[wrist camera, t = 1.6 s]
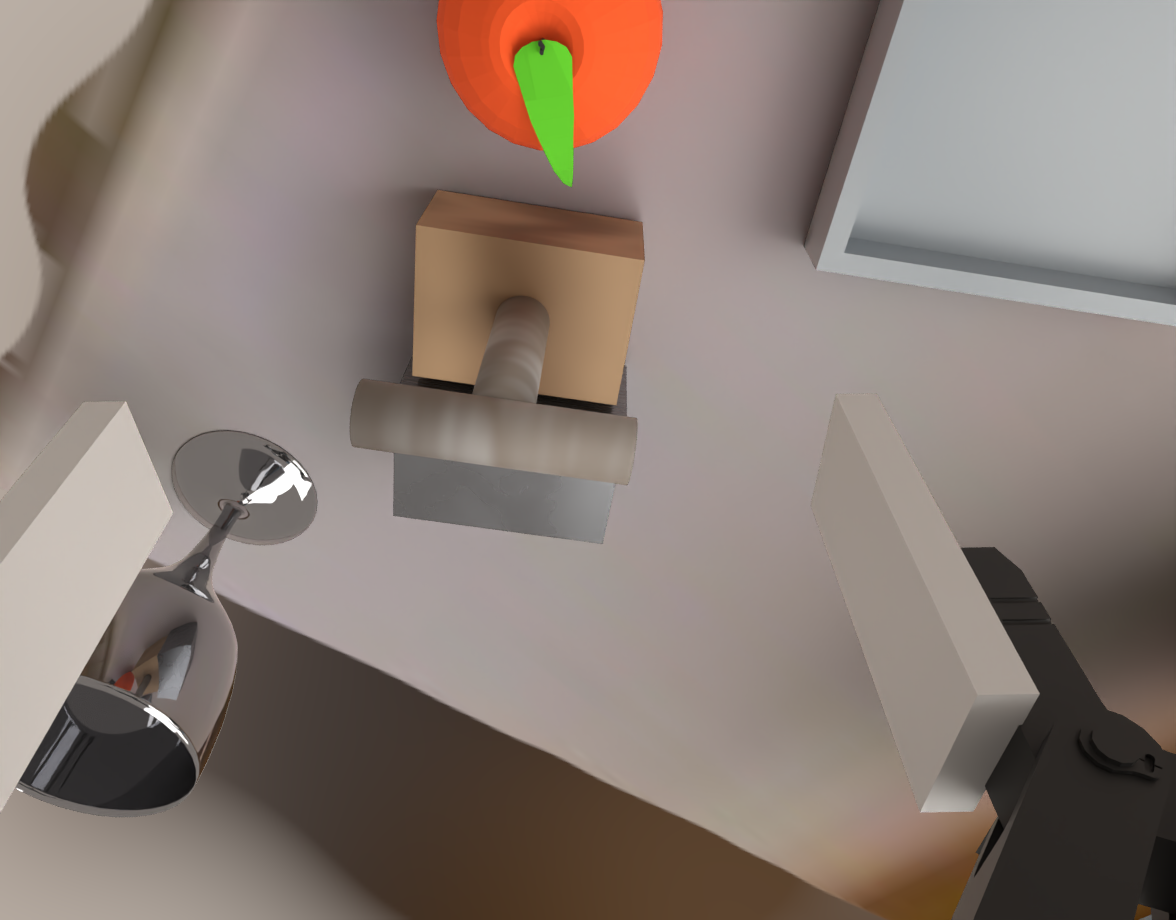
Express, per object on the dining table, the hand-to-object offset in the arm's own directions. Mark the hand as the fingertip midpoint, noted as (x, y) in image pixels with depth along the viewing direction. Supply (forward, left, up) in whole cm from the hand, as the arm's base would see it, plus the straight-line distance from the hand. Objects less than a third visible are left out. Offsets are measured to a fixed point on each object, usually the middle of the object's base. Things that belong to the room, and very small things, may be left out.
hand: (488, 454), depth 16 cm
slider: (0, +4, -19) cm, 19 cm away
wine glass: (+13, +18, -19) cm, 29 cm away
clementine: (0, -5, -19) cm, 20 cm away
